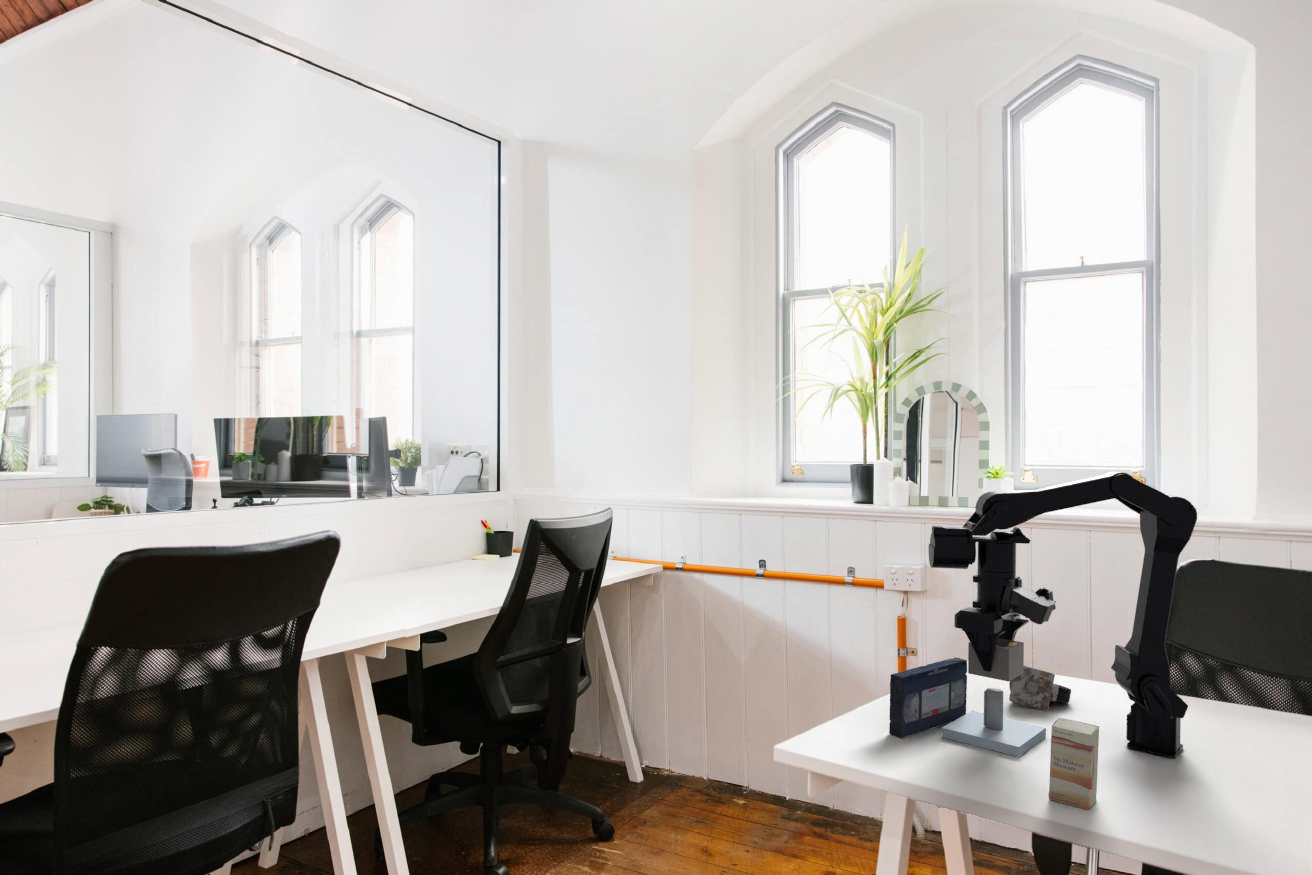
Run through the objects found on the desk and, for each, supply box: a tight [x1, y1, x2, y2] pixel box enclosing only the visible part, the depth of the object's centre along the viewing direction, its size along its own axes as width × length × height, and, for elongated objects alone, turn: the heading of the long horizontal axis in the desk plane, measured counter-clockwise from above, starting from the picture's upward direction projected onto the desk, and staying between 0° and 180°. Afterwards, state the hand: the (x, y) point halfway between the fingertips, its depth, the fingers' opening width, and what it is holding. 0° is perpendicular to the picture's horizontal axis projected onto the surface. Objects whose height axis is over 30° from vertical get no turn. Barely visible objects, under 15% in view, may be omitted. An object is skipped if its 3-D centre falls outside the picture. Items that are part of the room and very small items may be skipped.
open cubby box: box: [967, 638, 1025, 683], centre depth 135 cm, size 6×6×5 cm
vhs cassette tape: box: [888, 657, 968, 739], centre depth 140 cm, size 18×3×10 cm, turn 126°
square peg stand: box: [941, 687, 1047, 758], centre depth 135 cm, size 12×12×8 cm
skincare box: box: [1048, 717, 1100, 811], centre depth 112 cm, size 5×4×10 cm
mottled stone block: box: [1008, 665, 1072, 711], centre depth 154 cm, size 7×11×10 cm
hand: (995, 666), depth 135 cm, fingers closed on open cubby box, 6 cm apart
